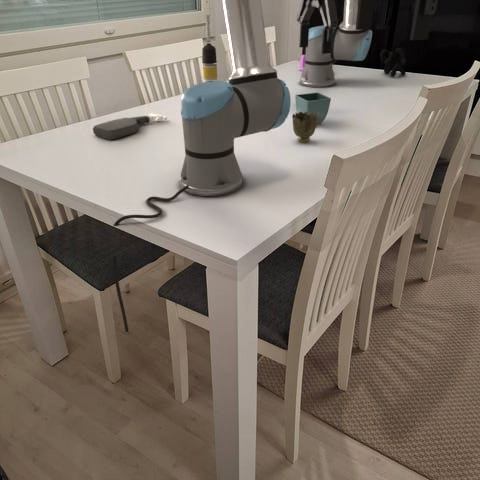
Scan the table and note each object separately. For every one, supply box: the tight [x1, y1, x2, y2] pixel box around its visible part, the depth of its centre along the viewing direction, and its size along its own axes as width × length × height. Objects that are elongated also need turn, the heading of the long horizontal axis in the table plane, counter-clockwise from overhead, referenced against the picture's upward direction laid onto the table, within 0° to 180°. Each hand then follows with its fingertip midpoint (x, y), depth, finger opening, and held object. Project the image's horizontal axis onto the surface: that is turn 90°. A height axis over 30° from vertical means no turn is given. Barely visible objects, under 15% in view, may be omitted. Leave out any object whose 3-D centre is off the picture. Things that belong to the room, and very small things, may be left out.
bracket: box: [299, 54, 306, 72], centre depth 223 cm, size 13×6×7 cm, turn 143°
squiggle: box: [379, 47, 407, 78], centre depth 207 cm, size 11×10×15 cm
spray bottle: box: [92, 112, 168, 141], centre depth 147 cm, size 3×11×25 cm
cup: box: [291, 112, 318, 144], centre depth 132 cm, size 8×7×8 cm
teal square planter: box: [294, 91, 332, 126], centre depth 147 cm, size 9×9×9 cm
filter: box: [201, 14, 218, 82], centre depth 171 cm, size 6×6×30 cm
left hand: (388, 34), depth 71 cm, fingers open, 13 cm apart
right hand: (314, 50), depth 138 cm, fingers open, 13 cm apart
